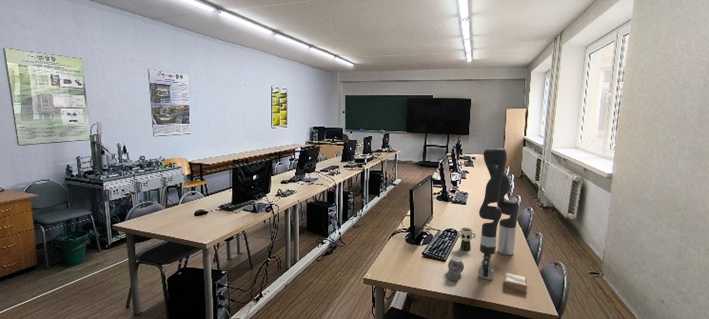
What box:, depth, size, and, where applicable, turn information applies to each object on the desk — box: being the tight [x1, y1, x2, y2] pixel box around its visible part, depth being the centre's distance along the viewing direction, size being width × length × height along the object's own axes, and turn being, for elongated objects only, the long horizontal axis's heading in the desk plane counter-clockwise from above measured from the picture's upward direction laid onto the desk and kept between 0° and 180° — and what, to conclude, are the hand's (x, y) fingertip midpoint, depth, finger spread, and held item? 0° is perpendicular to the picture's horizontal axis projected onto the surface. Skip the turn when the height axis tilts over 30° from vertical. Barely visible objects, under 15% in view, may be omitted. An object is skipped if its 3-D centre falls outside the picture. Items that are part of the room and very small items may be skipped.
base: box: [503, 272, 528, 295], centre depth 164 cm, size 10×10×4 cm
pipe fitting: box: [446, 256, 465, 282], centre depth 173 cm, size 12×8×10 cm
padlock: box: [477, 259, 495, 281], centre depth 172 cm, size 7×4×10 cm, turn 58°
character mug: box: [456, 227, 476, 251], centre depth 208 cm, size 11×7×13 cm, turn 66°
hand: (485, 274), depth 173 cm, fingers closed on padlock, 4 cm apart
